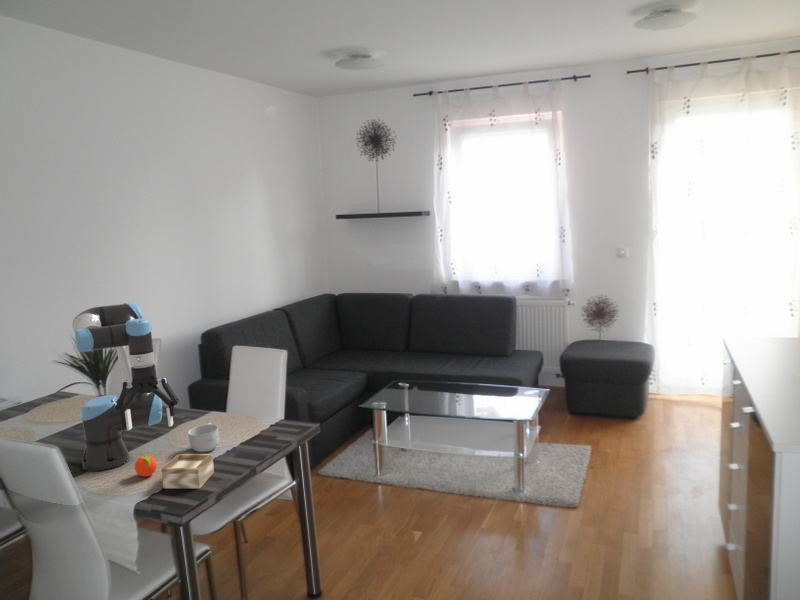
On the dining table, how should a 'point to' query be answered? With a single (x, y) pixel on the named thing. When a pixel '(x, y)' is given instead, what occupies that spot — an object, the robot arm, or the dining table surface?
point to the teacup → (204, 437)
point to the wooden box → (188, 471)
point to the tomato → (145, 466)
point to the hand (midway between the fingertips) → (150, 427)
